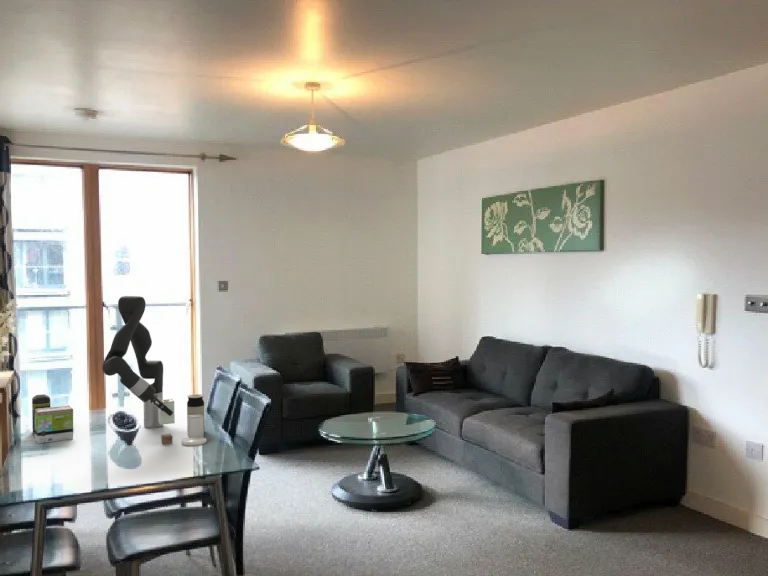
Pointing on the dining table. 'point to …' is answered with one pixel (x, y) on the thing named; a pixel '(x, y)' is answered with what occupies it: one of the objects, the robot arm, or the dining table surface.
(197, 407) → the travel mug
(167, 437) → the block
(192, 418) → the tall white lidded box
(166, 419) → the pale grey boxy piece
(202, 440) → the dish
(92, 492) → the dining table surface
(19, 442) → the dining table surface
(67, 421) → the tea box
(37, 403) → the coffee jar
